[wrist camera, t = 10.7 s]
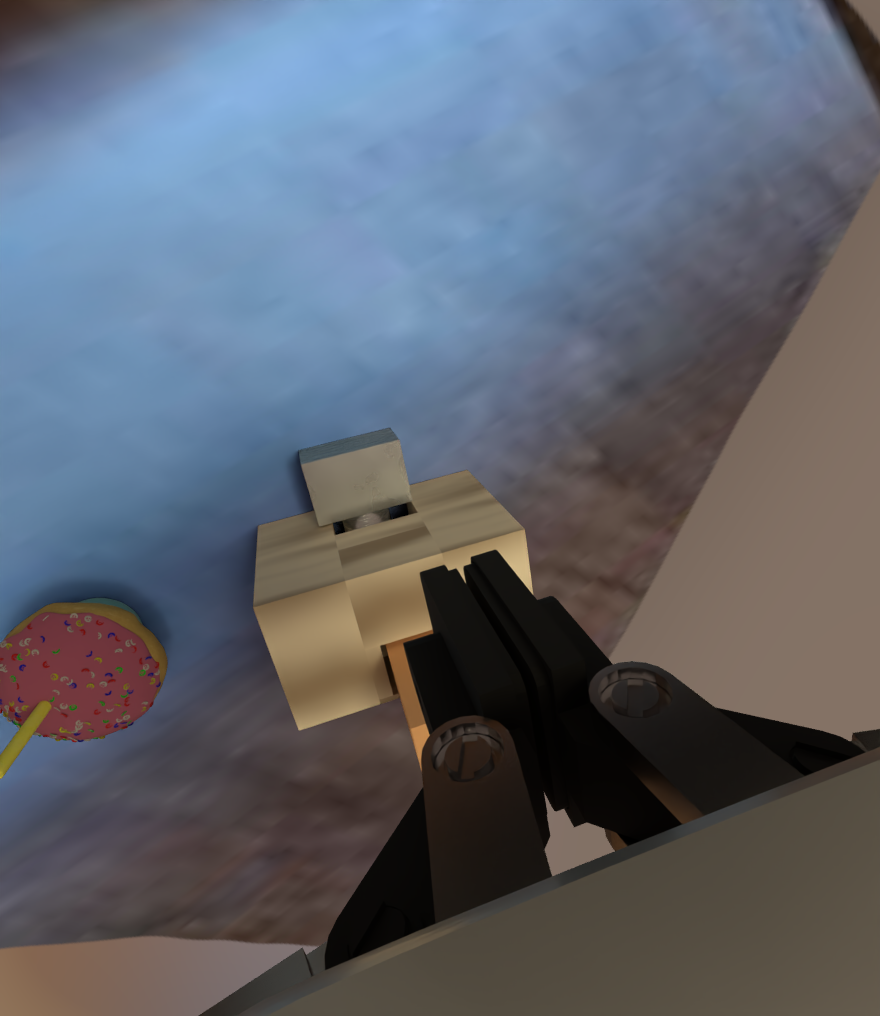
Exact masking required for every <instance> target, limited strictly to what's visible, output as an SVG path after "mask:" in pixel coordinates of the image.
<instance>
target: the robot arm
mask: <svg viewBox="0 0 880 1016" xmlns="http://www.w3.org/2000/svg"><path fill="white" fill-rule="evenodd" d="M463 570H464V576H465V581H466V583H465V581H464V579H463V578H462V576H461V575H460V573H459V571H458V570H457V568H455V569H452V570H448V569H447V567H446V566H445V565H442V566H438V567H435V568H432V569H428V570H425V571H422V572H420V579H421V583H422V587H423V592H424V596H425V600H426V604H427V608H428V612H429V617H430V621H431V625H432V629H433V634H429V635H426V636H423V637H420V638H417V639H414V640H411V641H407V642H404V643H403V646H404V650H405V654H406V658H407V661H408V665H409V669H410V673H411V676H412V680H413V683H414V687H415V690H416V694H417V697H418V700H419V704H420V707H421V710H422V713H423V716H424V720H425V723H426V726H427V729H428V732H429V735H430V736H429V737H428V738H427V740H426V742H425V744H424V746H423V749H422V755H421V768H422V779H423V788H422V790H421V791H420V793H419V794H418V796H417V797H416V799H415V800H414V802H413V803H412V805H411V806H410V808H409V809H408V811H407V813H406V814H405V816H404V817H403V819H402V820H401V822H400V823H399V825H398V826H397V828H396V829H395V831H394V832H393V834H392V835H391V837H390V839H389V840H388V842H387V843H386V845H385V846H384V848H383V849H382V851H381V852H380V854H379V855H378V857H377V858H376V860H375V861H374V863H373V865H372V866H371V868H370V869H369V871H368V872H367V874H366V875H365V877H364V878H363V880H362V881H361V883H360V884H359V886H358V888H357V889H356V891H355V892H354V894H353V895H352V897H351V898H350V900H349V901H348V903H347V904H346V906H345V907H344V909H343V910H342V912H341V914H340V915H339V917H338V918H337V920H336V922H335V924H334V926H333V928H332V930H331V932H330V934H329V937H328V941H327V942H325V943H324V944H322V945H321V946H319V947H318V948H316V949H315V950H313V951H312V952H310V953H309V954H307V955H306V954H305V952H304V950H303V948H301V949H300V950H298V951H297V952H295V953H294V954H292V955H291V956H289V957H287V958H286V959H284V960H283V961H281V962H280V963H278V964H277V965H275V966H274V967H272V968H271V969H269V970H268V971H266V972H265V973H263V974H261V975H260V976H259V977H257V978H255V979H254V980H252V981H251V982H249V983H248V984H246V985H245V986H243V987H242V988H240V989H239V990H237V991H235V992H234V993H232V994H231V995H229V996H228V997H226V998H225V999H223V1000H222V1001H220V1002H219V1003H217V1004H216V1005H214V1006H213V1007H211V1008H209V1009H208V1010H206V1011H205V1012H203V1013H202V1014H200V1015H199V1016H880V729H877V730H869V731H862V732H855V733H853V735H852V741H848V740H846V739H844V738H842V737H840V736H837V735H834V734H830V733H827V732H824V731H820V730H815V729H811V728H807V727H802V726H797V725H793V724H788V723H783V722H779V721H775V720H770V719H765V718H760V717H756V716H751V715H747V714H743V713H738V712H733V711H729V710H724V709H720V708H715V707H714V706H712V705H711V704H710V703H709V702H707V701H706V700H705V699H703V698H702V697H701V696H699V695H698V694H697V693H695V692H694V691H693V690H692V689H690V688H689V687H688V686H686V685H685V684H684V683H682V682H681V681H680V680H678V679H677V678H676V677H675V676H673V675H672V674H671V673H669V672H667V671H666V670H664V669H662V668H660V667H658V666H655V665H652V664H648V663H643V662H633V661H631V662H621V663H616V664H612V663H611V662H610V661H609V659H608V658H607V657H606V656H605V655H604V654H603V652H602V651H601V650H600V649H599V648H598V647H597V645H596V644H595V643H594V642H593V641H592V640H591V638H590V637H589V636H588V635H587V634H586V633H585V632H584V630H583V629H582V628H581V627H580V626H579V625H578V623H577V622H576V621H575V620H574V619H573V618H572V616H571V615H570V614H569V613H568V612H567V611H566V609H565V608H564V607H563V606H562V605H561V604H560V603H559V601H558V600H557V599H556V598H554V597H553V596H549V597H546V598H543V599H539V600H537V599H536V598H535V597H534V596H533V594H532V593H531V592H530V591H529V589H528V588H527V587H526V586H525V584H524V583H523V582H522V581H521V579H520V578H519V577H518V575H517V574H516V573H515V572H514V570H513V569H512V568H511V567H510V565H509V564H508V563H507V562H506V560H505V559H504V558H503V557H502V555H501V554H500V553H499V552H498V551H497V550H492V551H488V552H485V553H482V554H478V555H475V556H472V557H471V564H469V565H465V566H464V567H463ZM544 793H545V794H546V796H547V798H548V800H549V802H550V804H551V806H552V808H553V809H554V811H559V810H561V809H565V811H566V813H567V815H568V817H569V818H570V820H571V822H572V824H573V826H574V827H576V826H579V825H581V824H584V823H586V822H587V823H590V824H593V825H596V826H599V827H602V828H604V829H605V833H606V837H607V839H608V841H609V843H610V844H611V846H612V848H613V849H614V850H615V852H612V853H610V854H607V855H605V856H602V857H600V858H597V859H595V860H593V861H590V862H587V863H585V864H582V865H580V866H577V867H575V868H572V869H570V870H567V871H565V872H562V873H560V874H558V875H555V876H552V874H551V871H550V867H549V864H548V860H547V856H546V853H545V847H546V844H547V842H548V840H549V837H550V831H549V826H548V821H547V808H546V802H545V796H544Z"/></svg>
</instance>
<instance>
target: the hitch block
mask: <svg viewBox="0 0 880 1016" xmlns="http://www.w3.org/2000/svg"><path fill="white" fill-rule="evenodd" d="M409 487H410V492H411V497H412V501H411V502H407V503H406V504H407V508H408V513H409V515H407V516H403V517H400V518H396V519H393V520H389V521H385V522H382V523H378V524H374V525H371V526H367V527H363V528H360V529H356V530H353V531H349V532H345V533H342V534H338V535H336V533H335V529H334V526H333V523H331V524H327V525H324V526H320V527H319V524H318V521H317V517H316V514H315V511H311V512H307V513H304V514H300V515H296V516H292V517H289V518H285V519H281V520H277V521H274V522H270V523H266V524H262V525H259V526H258V536H257V552H256V568H255V584H254V600H253V609H254V612H255V614H256V617H257V620H258V622H259V625H260V628H261V630H262V633H263V636H264V638H265V641H266V644H267V646H268V649H269V652H270V654H271V657H272V660H273V662H274V665H275V668H276V670H277V673H278V676H279V678H280V681H281V684H282V686H283V689H284V692H285V694H286V697H287V700H288V703H289V705H290V708H291V711H292V713H293V716H294V719H295V721H296V724H297V727H298V729H299V731H300V730H303V729H306V728H309V727H312V726H315V725H318V724H321V723H324V722H327V721H330V720H333V719H336V718H339V717H342V716H345V715H349V714H352V713H355V712H358V711H361V710H364V709H367V708H370V707H373V706H376V705H379V704H382V703H385V702H388V701H391V700H394V699H397V698H400V696H399V693H398V689H397V686H396V682H395V679H394V675H393V672H392V668H391V664H390V660H389V657H388V653H387V649H386V646H385V644H388V643H391V642H394V641H397V640H400V639H404V638H407V637H410V636H413V635H417V634H420V633H423V632H426V631H429V630H433V629H432V625H431V621H430V617H429V612H428V608H427V604H426V600H425V596H424V592H423V587H422V583H421V579H420V572H422V571H425V570H428V569H432V568H435V567H438V566H442V565H445V566H446V567H447V569H448V570H452V569H455V568H457V570H458V571H459V573H460V575H461V576H462V578H463V579H464V581H465V576H464V570H463V567H464V566H465V565H469V564H471V557H472V556H475V555H478V554H482V553H485V552H488V551H492V550H497V551H498V552H499V553H500V554H501V555H502V557H503V558H504V559H505V560H506V562H507V563H508V564H509V565H510V567H511V568H512V569H513V570H514V572H515V573H516V574H517V575H518V577H519V578H520V579H521V581H522V582H523V583H524V584H525V586H526V587H527V588H528V589H529V591H530V592H531V593H532V594H533V590H532V582H531V574H530V567H529V559H528V551H527V544H526V536H525V529H524V528H523V527H522V526H521V525H520V524H519V523H518V522H517V521H516V520H515V519H514V518H513V517H512V516H511V515H510V514H509V513H508V512H507V510H506V509H505V508H504V507H503V506H502V505H501V504H500V503H499V502H498V501H497V500H496V499H495V498H494V497H493V496H492V495H491V494H490V493H489V492H488V491H487V490H486V489H485V488H484V487H483V486H482V485H481V484H480V482H479V481H478V480H477V479H476V478H475V477H474V476H473V475H472V474H471V473H470V472H469V471H468V470H465V471H461V472H457V473H454V474H450V475H446V476H442V477H439V478H435V479H431V480H427V481H424V482H420V483H416V484H412V485H409ZM465 583H466V581H465Z"/></svg>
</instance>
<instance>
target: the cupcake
mask: <svg viewBox="0 0 880 1016" xmlns="http://www.w3.org/2000/svg"><path fill="white" fill-rule="evenodd" d="M166 671H167V656H166V653H165V650H164V648H163V646H162V645H161V644H160V642H159V641H158V640H157V638H156V637H155V635H154V634H153V633H152V632H151V631H150V630H148V629H147V628H146V627H144V626H143V625H142V622H141V620H140V618H139V616H138V615H137V614H136V612H135V611H134V610H132V609H131V608H130V607H129V606H127V605H125V604H124V603H121V602H119V601H116V600H113V599H107V598H92V599H87V600H83V601H80V602H78V603H52V604H49V605H46V606H45V607H43V608H41V609H40V610H38V611H37V612H35V613H34V614H32V615H31V616H29V617H28V618H26V619H25V620H24V621H22V622H21V623H20V624H19V625H17V626H16V627H15V628H14V629H13V630H12V631H11V632H10V633H9V634H8V635H7V636H6V638H5V639H4V640H3V641H2V642H1V644H0V708H1V710H0V714H1V713H2V710H3V711H4V712H3V716H4V717H7V721H8V722H13V723H14V724H15V725H17V727H18V728H20V729H19V730H18V732H17V733H16V735H15V736H14V737H13V739H12V740H11V741H10V743H9V744H8V745H7V747H6V748H5V749H4V751H3V752H2V753H1V755H0V779H1V778H2V777H3V776H4V775H5V773H6V772H7V770H8V769H9V768H10V766H11V765H12V763H13V762H14V761H15V759H16V758H17V756H18V755H19V753H20V752H21V751H22V749H23V748H24V746H25V745H26V743H27V742H28V741H29V739H30V738H31V736H32V735H38V736H41V735H43V737H50V738H55V740H56V741H60V740H62V739H63V740H72V741H73V742H77V741H78V742H82V741H90V740H91V739H98V738H100V739H103V738H105V735H107V734H110V733H113V732H116V731H118V730H120V729H124V728H127V727H128V726H130V725H132V724H133V722H134V721H135V720H137V719H138V718H139V717H141V716H142V715H143V714H144V713H145V712H147V711H148V709H149V708H150V707H151V706H152V705H153V700H154V699H155V697H156V696H157V694H158V692H159V690H160V688H161V686H162V684H163V681H164V678H165V675H166ZM9 717H10V718H9ZM8 718H9V719H10V720H9V719H8ZM97 737H98V738H97ZM74 740H75V741H74Z"/></svg>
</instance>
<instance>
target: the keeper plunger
mask: <svg viewBox="0 0 880 1016" xmlns="http://www.w3.org/2000/svg"><path fill="white" fill-rule="evenodd" d="M429 634H433V630H429V631H426V632H423V633H420V634H417V635H413V636H410V637H407V638H404V639H400V640H397V641H394V642H391V643H388V644H385V646H386V649H387V653H388V657H389V660H390V664H391V668H392V672H393V675H394V679H395V682H396V686H397V689H398V693H399V696H400V699H401V703H402V706H403V710H404V713H405V716H406V720H407V723H408V727H409V730H410V733H411V737H412V740H413V744H414V747H415V750H416V754H417V757H418V761H419V764H420V767H421V755H422V749H423V746H424V744H425V742H426V740H427V738H428V737H429V736H430V735H429V732H428V729H427V726H426V723H425V720H424V716H423V713H422V710H421V707H420V704H419V700H418V697H417V694H416V690H415V687H414V683H413V680H412V676H411V673H410V669H409V665H408V661H407V658H406V654H405V650H404V646H403V643H404V642H407V641H411V640H414V639H417V638H420V637H423V636H426V635H429ZM421 771H422V768H421Z"/></svg>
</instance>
